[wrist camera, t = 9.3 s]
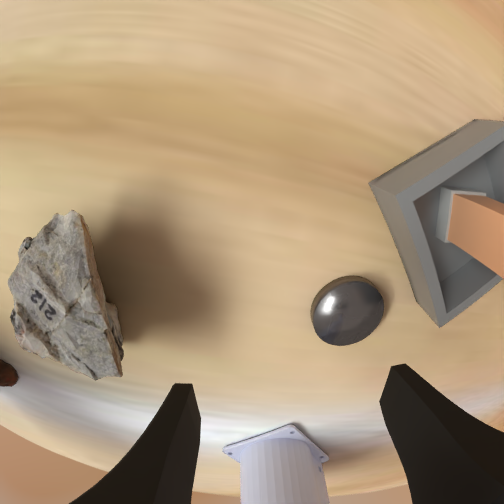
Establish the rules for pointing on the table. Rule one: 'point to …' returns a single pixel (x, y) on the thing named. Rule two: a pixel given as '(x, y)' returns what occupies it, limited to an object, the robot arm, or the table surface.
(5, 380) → the sculpture
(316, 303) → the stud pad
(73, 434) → the table surface
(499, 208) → the strut
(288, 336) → the table surface
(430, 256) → the bin
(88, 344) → the mineral specimen
